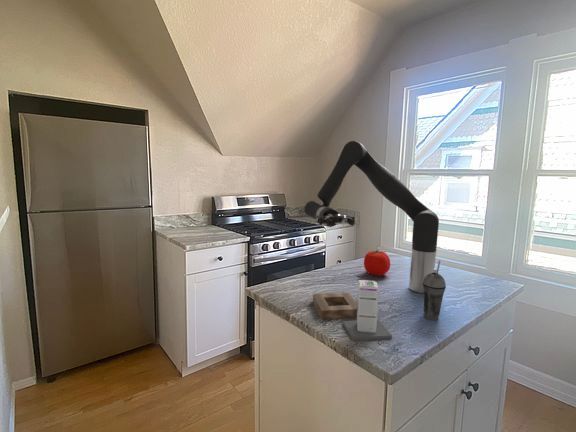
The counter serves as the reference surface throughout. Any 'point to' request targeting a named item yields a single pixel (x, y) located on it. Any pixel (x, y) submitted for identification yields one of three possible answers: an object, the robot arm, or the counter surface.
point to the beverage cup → (433, 294)
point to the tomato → (376, 263)
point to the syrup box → (367, 306)
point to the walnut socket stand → (335, 311)
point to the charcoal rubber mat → (359, 335)
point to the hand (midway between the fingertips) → (342, 222)
